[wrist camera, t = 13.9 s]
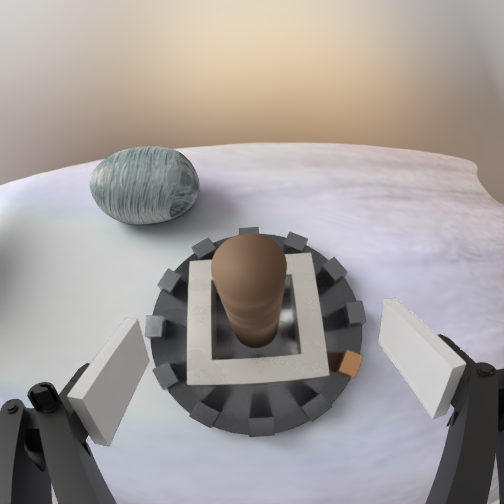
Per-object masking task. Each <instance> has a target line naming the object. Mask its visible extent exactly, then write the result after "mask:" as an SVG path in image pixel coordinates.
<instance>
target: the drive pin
mask: <svg viewBox="0 0 504 504" xmlns="http://www.w3.org/2000/svg"><path fill="white" fill-rule="evenodd" d="M286 272H287V261H286V257H285V254H284V252H283V251H282V249H281V248H280V246H279V245H278V244H277V243H276V242H274V241H273V240H271V239H270V238H268V237H266V236H263V235H259V234H252V233H250V234H241V235H237V236H234V237H232V238H230V239H228V240H227V241H225V242H224V243H223V244H222V245H221V246H220V247H219V248H218V249H217V250H216V252H215V254H214V256H213V259H212V262H211V274H212V278H213V280H214V283H215V285H216V288H217V291H218V293H219V296H220V298H221V301H222V303H223V306H224V308H225V311H226V313H227V316H228V318H229V321H230V323H231V326H232V328H233V331H234V333H235V335H236V337H237V339H238V340H239V341H240V342H241V343H242V344H243V345H245V346H247V347H250V348H261V347H264V346H267V345H268V344H270V343H271V342H272V341H273V340H274V338H275V337H276V335H277V331H278V326H279V319H280V313H281V306H282V300H283V293H284V286H285V279H286Z"/></svg>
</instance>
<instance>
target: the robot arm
mask: <svg viewBox="0 0 504 504" xmlns="http://www.w3.org/2000/svg"><path fill="white" fill-rule="evenodd" d="M378 343H379V345H380V346H381V347H382V349H383V350H384V351H385V353H386V354H387V355H388V357H389V358H390V360H391V361H392V362H393V364H394V365H395V366H396V368H397V369H398V371H399V372H400V373H401V375H402V376H403V378H404V379H405V380H406V382H407V383H408V385H409V386H410V388H411V389H412V390H413V392H414V393H415V395H416V396H417V398H418V399H419V401H420V402H421V403H422V405H423V406H424V408H425V409H426V411H427V412H428V414H429V415H430V417H431V418H432V419H435V418H437V417H440V416H442V415H444V414H446V413H447V411H448V408H449V406H450V404H451V405H452V406H453V407H454V408H455V409H454V411H453V414H452V416H451V418H450V420H449V422H448V424H447V426H449V425H450V427H449V431H448V435H447V439H446V443H445V447H444V451H443V454H442V458H441V461H440V464H439V468H438V471H437V474H436V477H435V480H434V482H433V485H432V488H431V491H430V493H429V496H428V498H427V501H426V503H425V504H487V500H488V495H489V491H490V486H491V480H492V475H493V468H494V461H495V453H496V459H497V468H498V479H499V496H500V504H504V369H499V370H496V369H495V368H494V366H492V365H490V364H488V363H475V362H474V361H473V360H472V359H471V358H470V357H469V356H468V355H467V354H466V353H465V352H463V351H462V350H460V348H459V347H458V346H457V345H455V343H454V342H453V341H451V340H450V339H449V338H447V337H445V336H443V335H441V334H440V335H436V334H435V333H434V332H433V331H432V330H431V329H430V328H429V327H428V326H427V325H426V324H425V323H423V322H422V321H421V320H420V319H419V318H418V317H417V316H416V315H415V314H413V313H412V312H411V311H410V310H409V309H408V308H407V307H406V306H404V305H403V304H402V303H401V302H400V301H399V300H398V299H396V298H391V299H384V300H383V310H382V318H381V326H380V333H379V340H378ZM148 363H149V358H148V354H147V351H146V347H145V344H144V340H143V337H142V333H141V329H140V325H139V321H138V319H125V320H124V321H123V322H122V324H121V325H120V326H119V327H118V329H117V330H116V331H115V332H114V334H113V335H112V336H111V338H110V339H109V340H108V341H107V343H106V344H105V345H104V347H103V348H102V349H101V350H100V352H99V353H98V354H97V356H96V357H95V358H94V360H93V361H92V362H91V363H86V364H85V365H83V366H82V367H81V368H79V369H78V371H77V372H76V373H75V374H74V377H72V378H71V380H70V382H68V384H67V385H66V386H65V388H64V389H63V390H62V392H61V393H60V394H59V395H58V393H57V391H56V389H55V387H54V386H53V384H51V383H48V382H42V383H38V384H36V385H34V386H33V387H32V388H31V389H30V390H29V391H28V395H27V396H28V398H29V400H30V401H31V403H32V405H33V406H34V408H26V407H25V405H24V404H23V402H22V401H21V400H19V399H12V400H9V401H7V402H6V403H5V404H4V405H3V406H2V408H1V411H0V504H52V493H51V482H52V485H53V489H54V492H55V495H56V498H57V501H58V504H117V503H116V502H115V500H114V498H113V496H112V494H111V492H110V490H109V489H108V487H107V485H106V483H105V481H104V479H103V477H102V474H101V472H100V470H99V468H98V466H97V464H96V461H95V459H94V457H93V455H92V452H91V450H90V447H89V445H88V444H87V442H86V439H87V437H88V435H89V436H90V437H91V439H92V440H93V442H94V443H95V444H100V445H104V446H110V444H111V442H112V440H113V437H114V435H115V433H116V431H117V428H118V426H119V424H120V422H121V420H122V417H123V415H124V413H125V411H126V409H127V406H128V404H129V402H130V400H131V398H132V396H133V394H134V392H135V389H136V387H137V385H138V383H139V381H140V379H141V377H142V375H143V373H144V371H145V369H146V367H147V365H148Z"/></svg>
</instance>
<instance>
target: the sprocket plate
mask: <svg viewBox="0 0 504 504" xmlns="http://www.w3.org/2000/svg"><path fill="white" fill-rule="evenodd" d="M250 233H252V234H259V228H258V227H251V228H239V235H241V234H250ZM259 235H263V236H266V237H268V238H270V239H271V240H273V241H274V242H276V243H277V244H278V245H279V246H280V248H281V249H282V251H283V252H284V254H285V257H286V261H287V272H286V279H285V286H284V293H283V300H282V306H281V313H280V319H279V326H278V331H277V335H276V337H275V338H274V340H273V341H272V342H271V343H270V344H268V345H267V346H264V347H261V348H250V347H247V346H245V345H243V344H242V343H241V342H240V341H239V340H238V339H237V337H236V335H235V333H234V331H233V328H232V326H231V323H230V321H229V318H228V316H227V313H226V311H225V308H224V306H223V303H222V301H221V298H220V296H219V293H218V291H217V288H216V285H215V283H214V280H213V278H212V274H211V262H212V259H213V256H214V254H215V252H216V250H217V249H218V248H219V247H220V246H221V245H222V244H223V243H224V242H225V241H227V240H228V239H230V238H232V237H230V238H226V239H223V240H220V241H217V242H215V243H212V242H211V240H210V239H209V238H207V239H205V240H203V241H201V242H200V243H198V244H196V245H194V246H193V247H192V249H193V252H194V254H193V255H191V256H190V257H189V258H188V259H187V260H185V261H184V262H183V263H182V264H181V265H180V266H179V267H178V268H177V269H176V270H175V271H172V270H170V269H168V270H167V271H166V273H165V274H164V276H163V277H162V279H161V280H160V282H159V283H158V287H159V288H160V289H161V292H160V294H159V297H158V299H157V302H156V304H155V308H154V311H153V315H152V316H147V317H146V332H145V336H146V337H147V338H149V339H151V349H152V355H153V359H154V362H155V366H156V368H155V369H153V372H154V374H155V376H156V378H157V380H158V382H159V383H160V385H161V387H162V389H163V390H168V391H169V393H170V394H171V395H172V396H173V397H174V399H175V400H176V401H177V402H178V403H179V404H180V405H181V406H182V407H183V408H184V409H186V410H187V411H188V412H189V413H190V417H191V418H193V419H195V420H197V421H198V422H200V423H202V424H204V425H206V426H208V427H209V428H211V427H216V428H219V429H222V430H225V431H229V432H233V433H239V434H246V435H249V437H256V436H271V435H275V434H274V433H278V432H282V431H285V430H289V429H292V428H295V427H297V426H299V425H302V424H304V423H306V422H308V421H314V420H315V419H317V418H318V417H320V416H321V415H322V414H324V413H325V412H326V411H328V410H329V409H330V408H332V406H331V404H332V403H333V402H334V401H335V400H336V399H337V398H338V396H339V395H340V394H341V393H342V391H343V390H344V388H345V387H346V385H347V384H348V382H349V381H350V379H351V378H354V377H355V376H356V374H357V371H358V369H359V366H360V363H361V361H362V358H363V356H362V355H360V349H361V342H362V325H363V324H364V323H365V322H366V318H365V313H364V308H363V303H362V301H356V299H355V297H354V294H353V292H352V290H351V288H350V286H349V285H348V283H347V281H346V280H345V278H344V277H345V275H346V273H347V271H346V270H345V268H344V267H343V266H342V265H341V264H340V263H339V262H338V261H337V259H336V258H335V257H333V258H332V259H330V260H327V259H326V258H325V257H324V256H322V255H321V254H320V253H318V252H317V251H315V250H313V249H312V248H310V247H308V246H306V245H307V241H308V239H307V238H305V237H302V236H300V235H297V234H294V233H292V232H289V234H288V236H287V238H285V237H280V236H275V235H266V234H259Z"/></svg>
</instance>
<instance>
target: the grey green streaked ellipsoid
mask: <svg viewBox="0 0 504 504" xmlns="http://www.w3.org/2000/svg"><path fill="white" fill-rule="evenodd" d="M90 190H91V193H92V196H93V198H94V200H95V202H96V203H97V205H98V206H99V207H100V208H101V209H102V210H103V211H104V212H105V213H106V214H107V215H109V216H110V217H112V218H113V219H115V220H118V221H121V222H124V223H128V224H151V223H159V222H164V221H167V220H171V219H173V218H175V217H178V216H180V215H181V214H183V213H185V212H186V211H188V210H189V209H190V208H191V207H192V206H193V205H194V203H195V202H196V200H197V197H198V194H199V179H198V176H197V173H196V171H195V169H194V167H193V165H192V164H191V162H190V161H189V160H188V159H187V158H186V157H185V156H184V155H183V154H181V153H180V152H178V151H176V150H173V149H170V148H165V147H155V146H146V147H136V148H131V149H126V150H123V151H120V152H117V153H115V154H113V155H111V156H109V157H108V158H106V159H105V160H104V161H102V162H101V163H100V164H99V165H98V166H97V167H96V168H95V170H94V171H93V173H92V174H91V177H90Z"/></svg>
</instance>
